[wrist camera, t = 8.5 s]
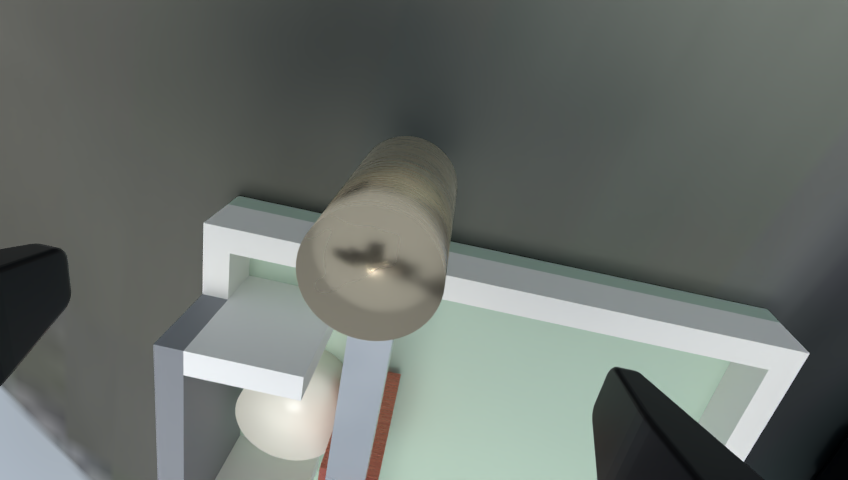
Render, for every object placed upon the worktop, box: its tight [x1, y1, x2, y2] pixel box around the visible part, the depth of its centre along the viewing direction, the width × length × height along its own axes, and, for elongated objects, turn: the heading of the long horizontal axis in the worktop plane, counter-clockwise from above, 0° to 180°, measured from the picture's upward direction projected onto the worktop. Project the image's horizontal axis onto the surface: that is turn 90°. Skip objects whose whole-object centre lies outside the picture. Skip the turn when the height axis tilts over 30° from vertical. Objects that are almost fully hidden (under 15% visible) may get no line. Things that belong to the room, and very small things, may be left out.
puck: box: [235, 350, 343, 461], centre depth 23 cm, size 4×4×2 cm
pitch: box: [153, 196, 810, 480], centre depth 22 cm, size 22×16×6 cm
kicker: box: [296, 136, 457, 480], centre depth 18 cm, size 3×22×9 cm, turn 169°
